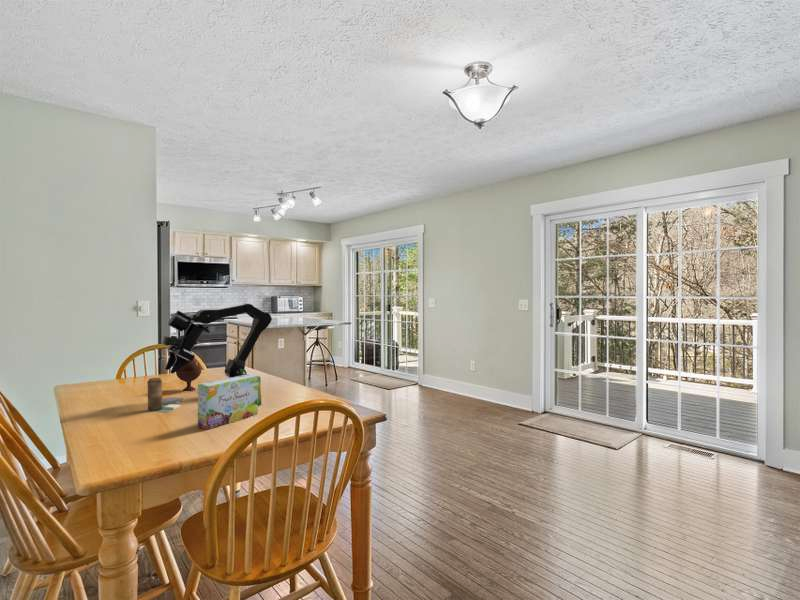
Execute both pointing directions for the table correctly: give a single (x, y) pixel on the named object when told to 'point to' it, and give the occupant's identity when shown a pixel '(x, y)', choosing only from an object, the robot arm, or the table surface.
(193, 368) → the ice cream bowl
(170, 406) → the mat
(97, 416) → the table surface
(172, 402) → the trivet
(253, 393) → the snack box
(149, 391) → the pepper mill
